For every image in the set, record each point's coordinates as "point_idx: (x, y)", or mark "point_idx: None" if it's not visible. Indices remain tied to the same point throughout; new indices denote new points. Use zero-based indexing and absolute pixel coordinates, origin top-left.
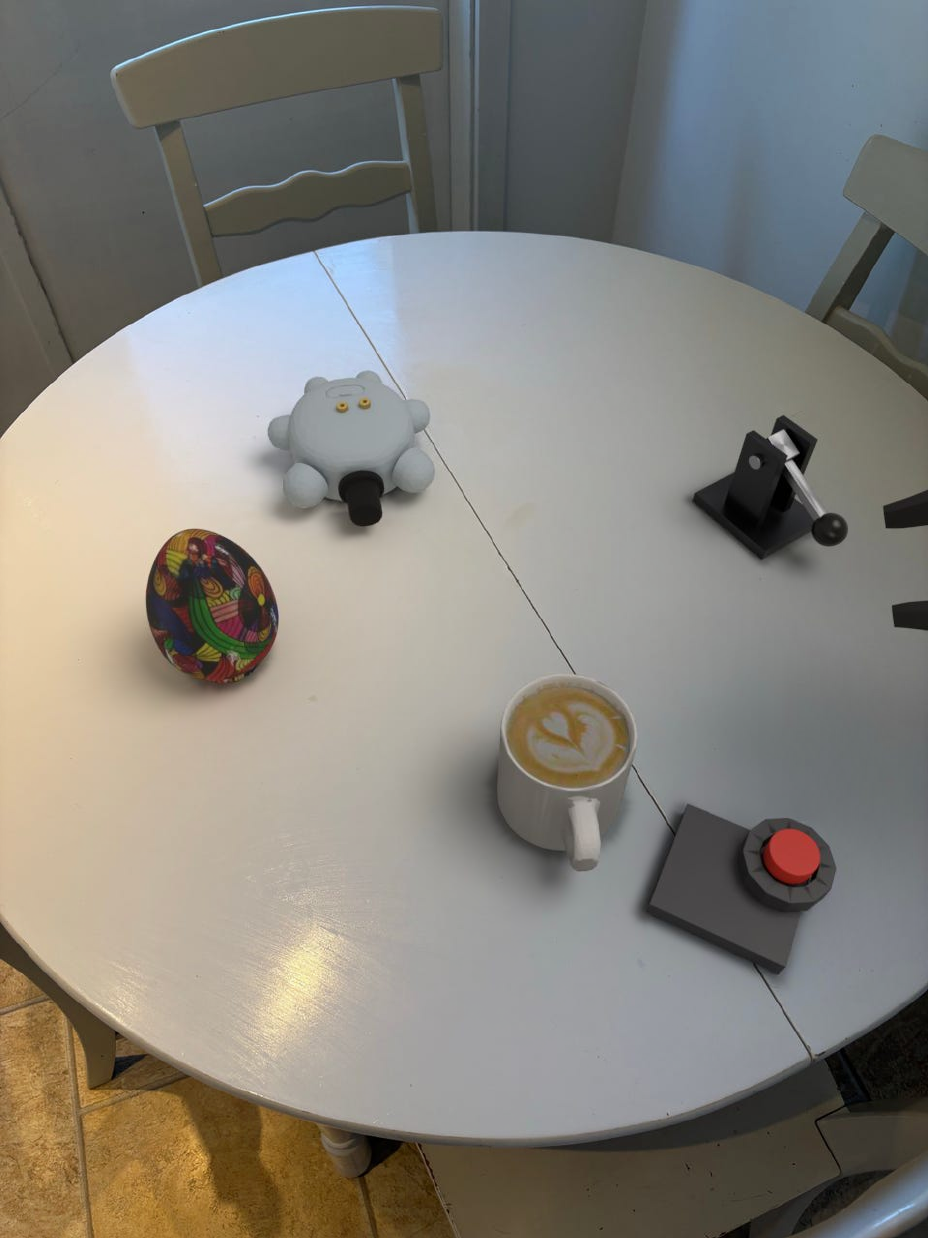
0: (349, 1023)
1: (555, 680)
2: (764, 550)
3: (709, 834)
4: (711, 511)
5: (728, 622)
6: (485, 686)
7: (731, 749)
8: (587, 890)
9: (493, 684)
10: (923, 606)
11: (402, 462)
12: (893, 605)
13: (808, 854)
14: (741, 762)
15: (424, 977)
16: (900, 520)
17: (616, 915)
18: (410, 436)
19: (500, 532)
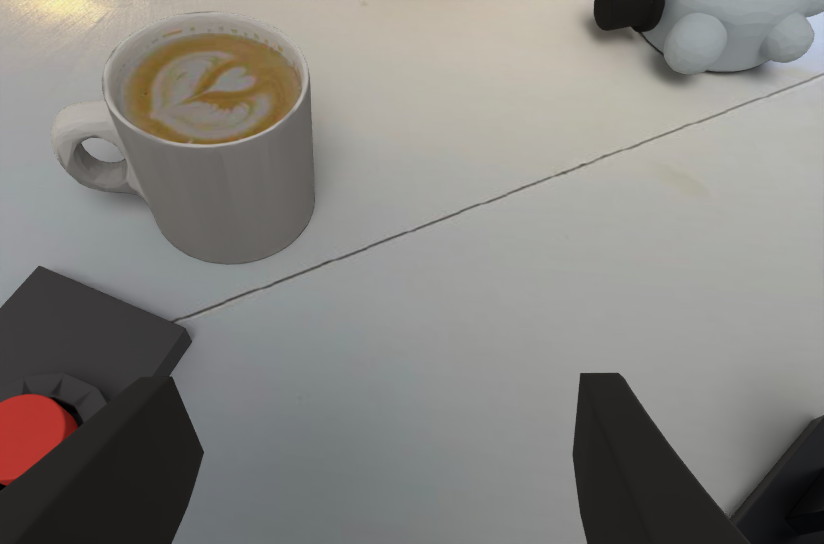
0: (3, 30)
1: (301, 73)
2: None
3: (129, 351)
4: (797, 444)
5: (553, 451)
6: (391, 136)
7: (298, 423)
8: (97, 221)
9: (395, 143)
10: (83, 444)
11: (692, 16)
12: (166, 379)
13: (5, 457)
14: (274, 436)
15: (32, 80)
16: (584, 470)
17: (56, 249)
18: (742, 24)
19: (642, 158)
